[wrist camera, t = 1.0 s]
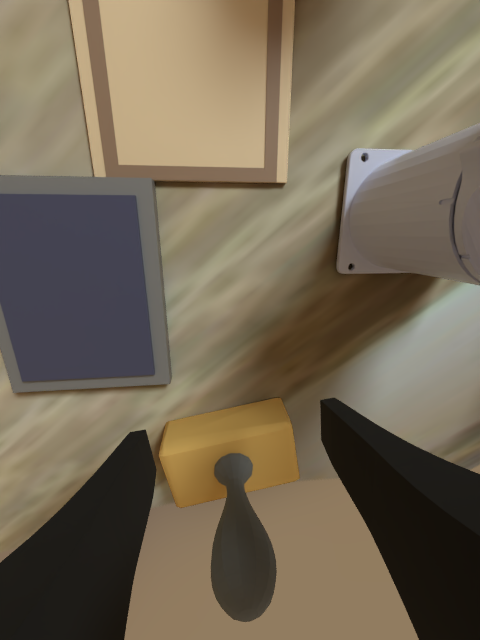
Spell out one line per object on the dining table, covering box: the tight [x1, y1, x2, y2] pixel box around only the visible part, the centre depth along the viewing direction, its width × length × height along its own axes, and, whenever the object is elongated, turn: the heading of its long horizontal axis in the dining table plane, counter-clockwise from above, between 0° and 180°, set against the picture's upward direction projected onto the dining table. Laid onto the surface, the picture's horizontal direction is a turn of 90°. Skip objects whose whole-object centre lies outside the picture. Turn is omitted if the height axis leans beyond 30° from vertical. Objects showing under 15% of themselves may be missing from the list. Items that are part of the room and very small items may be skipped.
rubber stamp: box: [159, 398, 300, 622], centre depth 18 cm, size 10×6×12 cm, turn 100°
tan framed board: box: [69, 0, 295, 183], centre depth 15 cm, size 12×14×1 cm
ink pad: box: [0, 175, 172, 393], centre depth 18 cm, size 11×14×1 cm
